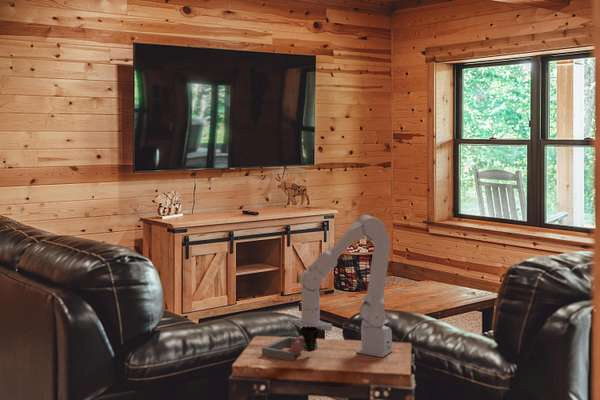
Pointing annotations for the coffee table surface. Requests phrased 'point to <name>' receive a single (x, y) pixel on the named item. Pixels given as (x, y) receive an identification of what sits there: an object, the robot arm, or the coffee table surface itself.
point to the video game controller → (297, 346)
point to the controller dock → (275, 347)
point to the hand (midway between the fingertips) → (310, 350)
